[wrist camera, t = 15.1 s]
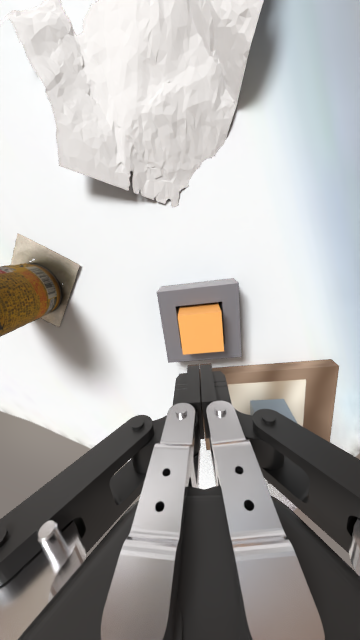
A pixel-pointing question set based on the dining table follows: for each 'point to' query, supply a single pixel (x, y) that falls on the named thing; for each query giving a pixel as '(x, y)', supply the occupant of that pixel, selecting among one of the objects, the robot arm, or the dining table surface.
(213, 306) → the button
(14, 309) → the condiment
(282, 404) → the grey rectangular box
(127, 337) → the dining table surface
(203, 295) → the button housing
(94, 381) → the dining table surface
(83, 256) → the dining table surface
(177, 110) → the paper
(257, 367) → the drawing board
